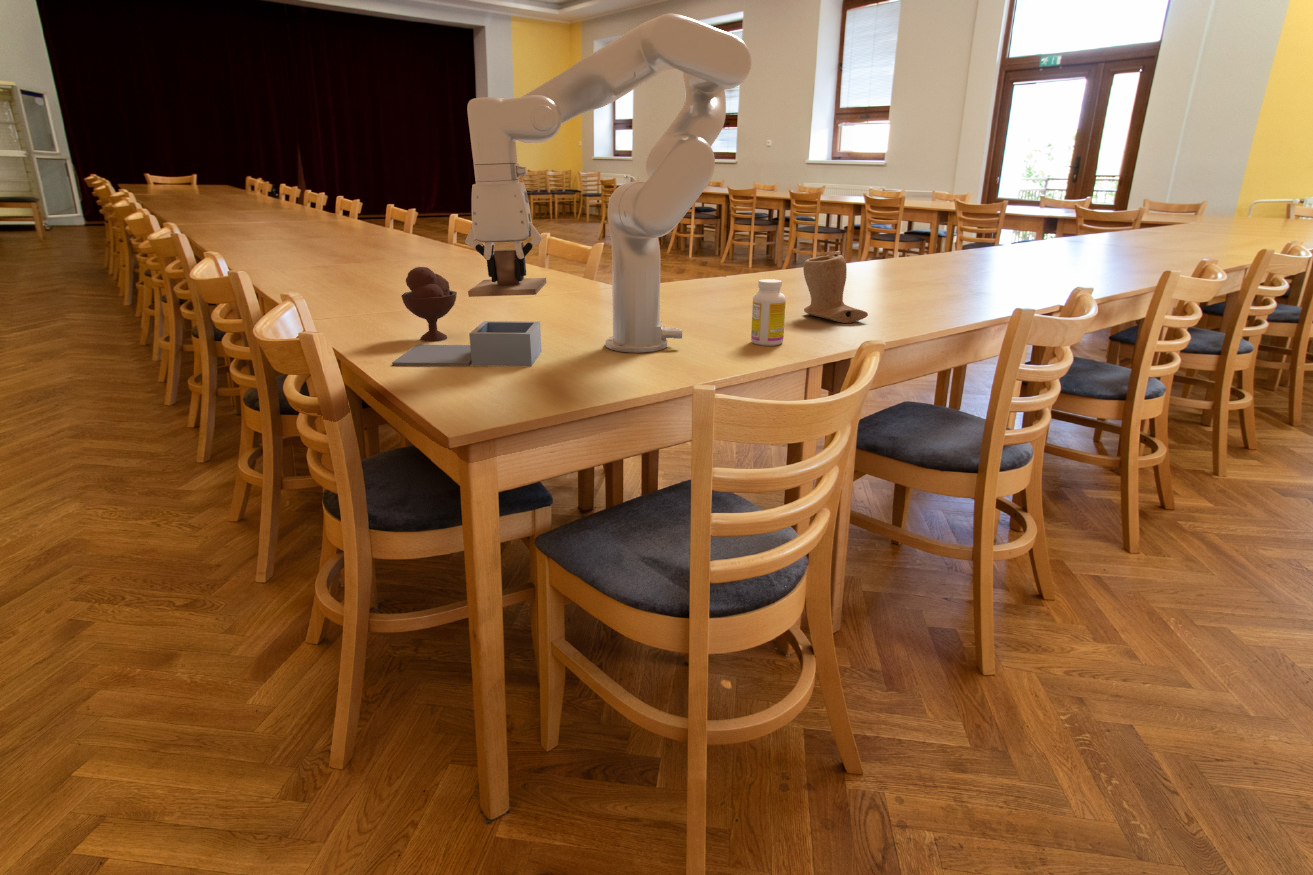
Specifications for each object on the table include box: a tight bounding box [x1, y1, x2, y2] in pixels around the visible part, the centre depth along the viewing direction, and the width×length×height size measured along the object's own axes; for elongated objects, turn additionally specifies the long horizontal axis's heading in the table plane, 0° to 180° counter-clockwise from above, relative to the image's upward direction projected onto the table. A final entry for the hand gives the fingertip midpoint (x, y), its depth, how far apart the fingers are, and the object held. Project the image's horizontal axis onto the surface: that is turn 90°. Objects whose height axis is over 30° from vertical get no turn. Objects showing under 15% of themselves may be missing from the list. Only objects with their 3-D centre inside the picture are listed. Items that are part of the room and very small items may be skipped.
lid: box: [467, 248, 547, 298], centre depth 135 cm, size 12×12×7 cm
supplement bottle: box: [750, 278, 786, 347], centre depth 152 cm, size 7×7×13 cm
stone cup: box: [803, 254, 869, 324], centre depth 176 cm, size 15×12×15 cm
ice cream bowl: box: [400, 266, 458, 342], centre depth 154 cm, size 11×11×15 cm
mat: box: [391, 344, 472, 367], centre depth 142 cm, size 14×14×1 cm
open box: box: [469, 320, 543, 367], centre depth 140 cm, size 11×11×6 cm
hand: (508, 279), depth 136 cm, fingers closed on lid, 4 cm apart
